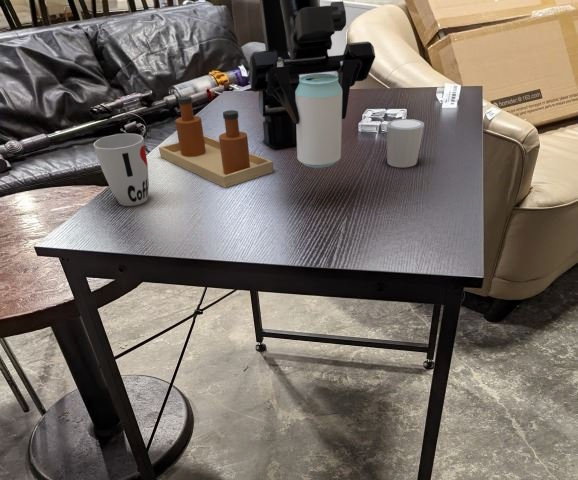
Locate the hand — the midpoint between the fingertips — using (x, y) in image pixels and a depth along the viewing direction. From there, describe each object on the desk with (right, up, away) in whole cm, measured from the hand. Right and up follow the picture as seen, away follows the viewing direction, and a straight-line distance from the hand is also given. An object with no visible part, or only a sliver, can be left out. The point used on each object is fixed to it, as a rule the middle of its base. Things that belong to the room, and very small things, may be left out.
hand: (320, 120), depth 80 cm
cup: (-33, -8, +14) cm, 36 cm away
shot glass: (+17, +3, +22) cm, 28 cm away
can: (0, -4, +6) cm, 7 cm away
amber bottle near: (-15, +1, +21) cm, 25 cm away
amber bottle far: (-25, +8, +30) cm, 40 cm away
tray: (-20, +4, +26) cm, 33 cm away
